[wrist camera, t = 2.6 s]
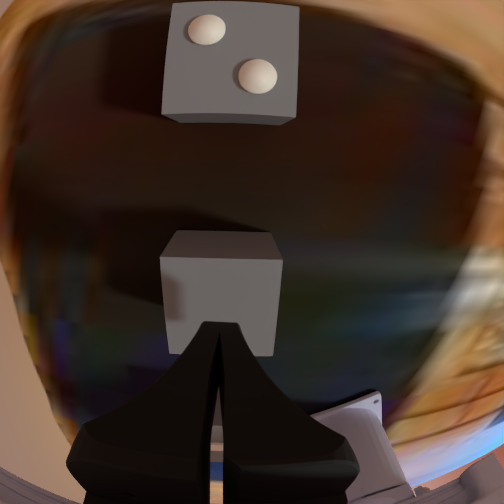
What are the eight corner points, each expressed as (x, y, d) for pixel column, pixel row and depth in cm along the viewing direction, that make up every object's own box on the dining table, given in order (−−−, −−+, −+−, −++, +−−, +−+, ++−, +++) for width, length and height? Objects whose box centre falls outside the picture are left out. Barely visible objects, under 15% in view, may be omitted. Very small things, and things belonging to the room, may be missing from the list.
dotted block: (279, 125, 14) (296, 116, 10) (180, 122, 13) (160, 113, 10) (283, 38, 12) (299, 4, 8) (186, 35, 12) (171, 1, 8)
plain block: (264, 313, 17) (272, 355, 14) (180, 311, 17) (169, 353, 13) (270, 232, 16) (282, 259, 12) (176, 230, 15) (159, 256, 12)
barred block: (253, 423, 21) (257, 464, 17) (192, 421, 21) (188, 462, 17) (258, 383, 19) (264, 428, 15) (188, 380, 19) (181, 425, 15)
